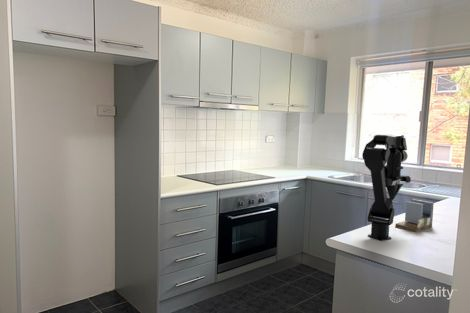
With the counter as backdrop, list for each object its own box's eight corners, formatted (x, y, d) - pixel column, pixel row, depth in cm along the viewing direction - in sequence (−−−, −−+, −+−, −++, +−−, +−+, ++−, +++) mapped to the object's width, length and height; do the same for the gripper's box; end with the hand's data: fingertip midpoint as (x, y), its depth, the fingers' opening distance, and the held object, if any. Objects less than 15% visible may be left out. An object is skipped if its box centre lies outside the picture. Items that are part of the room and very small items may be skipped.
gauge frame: (416, 232, 151) (416, 221, 150) (395, 226, 158) (395, 216, 158) (432, 226, 159) (433, 216, 159) (412, 222, 167) (412, 212, 166)
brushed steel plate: (430, 224, 158) (431, 203, 157) (410, 219, 165) (411, 199, 165) (432, 223, 159) (433, 202, 158) (412, 218, 167) (413, 198, 166)
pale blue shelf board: (425, 226, 153) (427, 205, 152) (404, 221, 161) (406, 201, 160) (430, 224, 156) (431, 204, 155) (409, 220, 163) (410, 200, 162)
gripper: (388, 161, 164) (386, 194, 165) (364, 163, 153) (362, 198, 154) (412, 163, 155) (410, 198, 156) (388, 165, 144) (386, 203, 145)
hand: (391, 199), depth 153 cm, fingers closed
